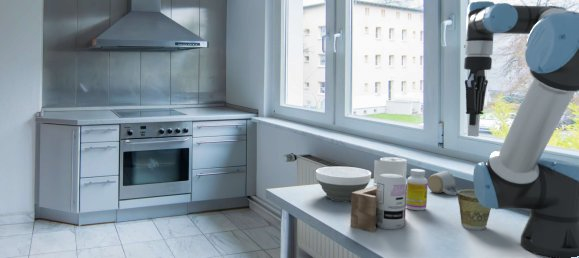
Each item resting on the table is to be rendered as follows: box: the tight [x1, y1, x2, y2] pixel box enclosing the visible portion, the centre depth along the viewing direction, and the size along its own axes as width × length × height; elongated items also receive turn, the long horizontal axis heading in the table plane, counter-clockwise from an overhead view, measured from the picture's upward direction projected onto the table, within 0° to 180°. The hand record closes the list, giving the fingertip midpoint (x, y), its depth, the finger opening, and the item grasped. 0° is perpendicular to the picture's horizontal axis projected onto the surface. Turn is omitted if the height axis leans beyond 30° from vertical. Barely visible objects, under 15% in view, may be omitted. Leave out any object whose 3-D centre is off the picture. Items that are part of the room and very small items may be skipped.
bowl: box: [315, 166, 372, 202], centre depth 176 cm, size 20×20×10 cm
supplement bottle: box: [406, 168, 428, 211], centre depth 164 cm, size 7×7×13 cm
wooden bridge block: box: [349, 185, 407, 233], centre depth 147 cm, size 8×18×10 cm, turn 137°
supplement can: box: [376, 173, 407, 230], centre depth 144 cm, size 8×8×15 cm
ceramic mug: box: [427, 170, 459, 196], centre depth 187 cm, size 11×8×8 cm
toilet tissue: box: [373, 156, 408, 185], centre depth 200 cm, size 11×12×10 cm
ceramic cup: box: [457, 188, 492, 231], centre depth 146 cm, size 13×10×10 cm
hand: (473, 135), depth 148 cm, fingers closed
